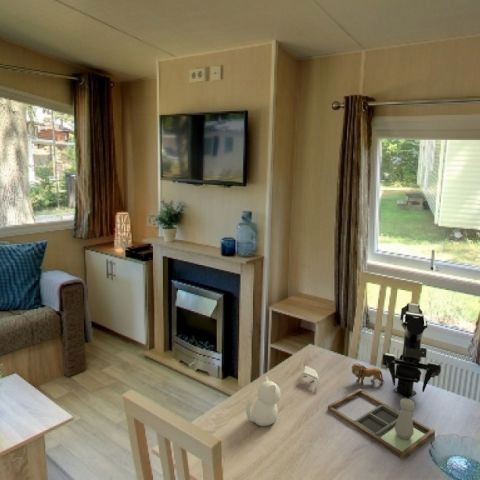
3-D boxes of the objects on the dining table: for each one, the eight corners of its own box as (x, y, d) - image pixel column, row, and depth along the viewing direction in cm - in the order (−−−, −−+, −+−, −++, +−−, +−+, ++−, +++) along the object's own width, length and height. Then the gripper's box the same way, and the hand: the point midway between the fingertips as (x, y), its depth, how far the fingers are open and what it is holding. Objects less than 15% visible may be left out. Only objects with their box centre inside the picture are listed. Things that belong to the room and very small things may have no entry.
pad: (402, 422, 139) (403, 421, 139) (426, 436, 133) (426, 435, 133) (379, 438, 131) (379, 437, 131) (403, 453, 125) (403, 452, 124)
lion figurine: (353, 387, 160) (355, 367, 158) (347, 380, 165) (349, 360, 164) (387, 385, 162) (389, 365, 161) (380, 378, 168) (382, 359, 166)
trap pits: (381, 407, 148) (382, 404, 147) (403, 420, 141) (403, 416, 140) (353, 424, 138) (353, 420, 137) (375, 439, 131) (375, 435, 130)
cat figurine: (284, 425, 136) (287, 385, 134) (251, 433, 131) (253, 392, 129) (271, 410, 145) (274, 372, 142) (240, 417, 139) (242, 378, 137)
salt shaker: (416, 438, 131) (421, 403, 128) (404, 444, 128) (409, 408, 126) (401, 428, 136) (406, 393, 133) (390, 433, 133) (394, 398, 131)
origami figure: (292, 380, 165) (293, 369, 164) (307, 374, 169) (308, 363, 168) (313, 394, 155) (314, 382, 154) (328, 387, 160) (329, 376, 159)
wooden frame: (359, 393, 156) (359, 388, 156) (434, 435, 133) (435, 430, 133) (327, 410, 145) (327, 405, 145) (403, 460, 122) (404, 454, 121)
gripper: (385, 332, 141) (380, 375, 133) (443, 342, 134) (442, 388, 127) (384, 343, 150) (379, 384, 142) (439, 353, 143) (437, 397, 135)
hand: (408, 388), depth 136 cm, fingers open, 9 cm apart
